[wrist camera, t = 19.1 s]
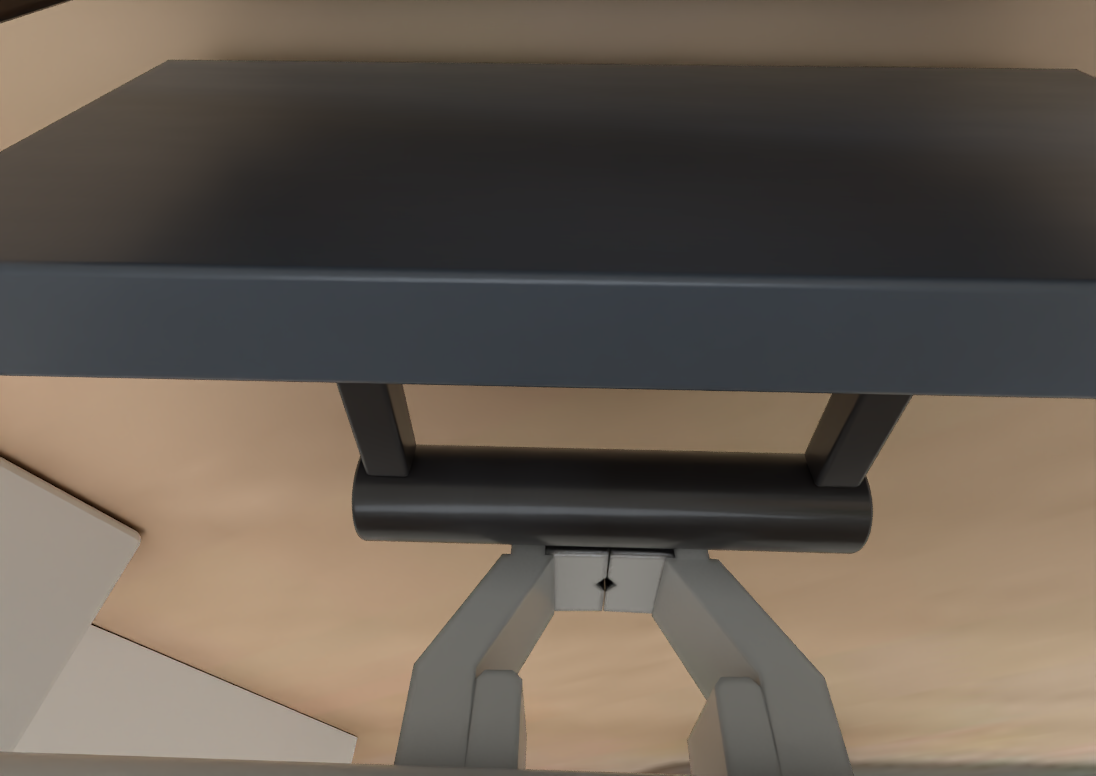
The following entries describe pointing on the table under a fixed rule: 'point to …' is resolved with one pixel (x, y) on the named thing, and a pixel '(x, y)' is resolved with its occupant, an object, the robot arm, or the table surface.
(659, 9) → the table surface
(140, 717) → the white rectangular box
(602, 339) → the drawer
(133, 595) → the table surface
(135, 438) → the table surface
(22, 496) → the medicine bottle
